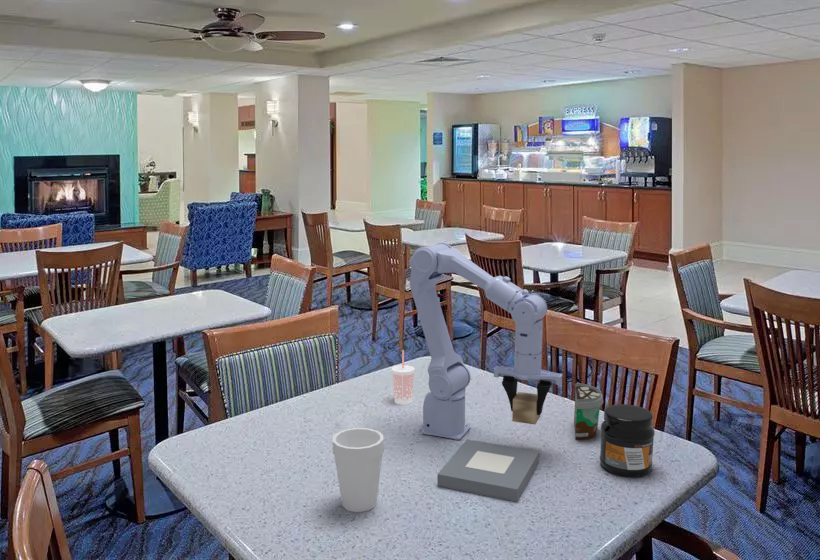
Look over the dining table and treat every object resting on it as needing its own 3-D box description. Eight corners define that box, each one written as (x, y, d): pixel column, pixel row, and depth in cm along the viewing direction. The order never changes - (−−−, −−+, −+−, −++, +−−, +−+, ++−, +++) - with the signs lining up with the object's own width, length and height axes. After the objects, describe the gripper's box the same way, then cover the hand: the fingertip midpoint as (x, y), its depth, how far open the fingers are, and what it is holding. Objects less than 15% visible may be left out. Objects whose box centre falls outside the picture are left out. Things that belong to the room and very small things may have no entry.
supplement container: (638, 483, 136) (642, 426, 134) (589, 467, 143) (592, 412, 141) (660, 466, 144) (664, 411, 142) (613, 451, 151) (616, 399, 149)
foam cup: (335, 492, 133) (333, 428, 131) (383, 489, 134) (382, 426, 132) (333, 517, 124) (332, 450, 122) (385, 515, 125) (384, 447, 122)
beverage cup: (415, 397, 184) (415, 347, 182) (413, 406, 178) (413, 353, 176) (393, 396, 185) (392, 346, 182) (390, 405, 179) (389, 353, 176)
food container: (603, 444, 154) (605, 402, 153) (575, 442, 156) (577, 400, 154) (600, 423, 166) (601, 383, 164) (573, 421, 167) (575, 382, 166)
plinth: (437, 485, 136) (437, 473, 135) (466, 449, 152) (467, 438, 151) (517, 501, 129) (517, 488, 129) (538, 462, 146) (539, 450, 145)
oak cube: (512, 421, 149) (512, 399, 148) (517, 413, 154) (518, 391, 153) (535, 424, 147) (536, 402, 146) (540, 416, 152) (540, 394, 151)
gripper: (490, 352, 147) (489, 413, 149) (558, 360, 141) (556, 423, 144) (499, 344, 153) (497, 402, 156) (565, 351, 148) (562, 411, 150)
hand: (526, 411), depth 150 cm, fingers closed on oak cube, 5 cm apart
